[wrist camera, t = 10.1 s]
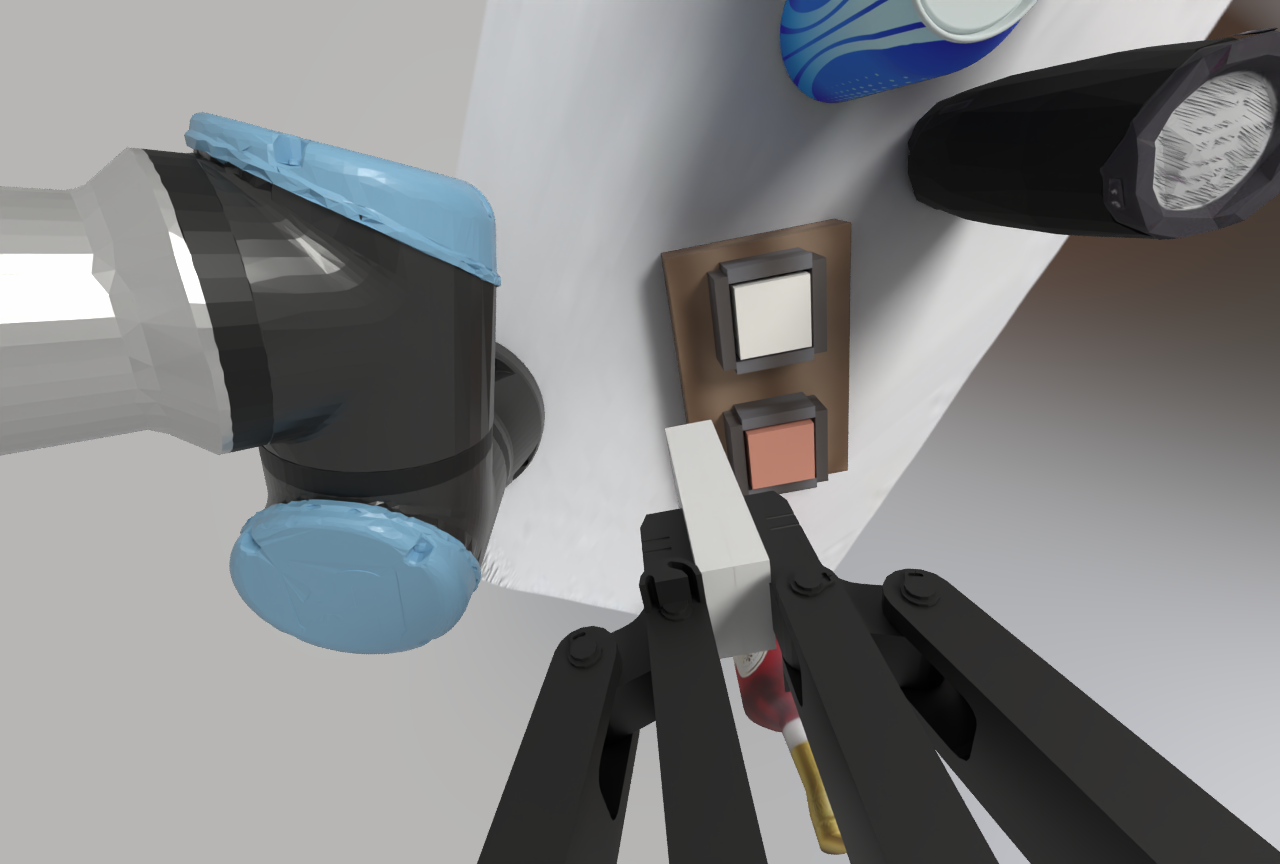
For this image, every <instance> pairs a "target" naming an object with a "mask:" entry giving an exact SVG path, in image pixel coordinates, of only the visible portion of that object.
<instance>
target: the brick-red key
mask: <svg viewBox="0 0 1280 864" xmlns="http://www.w3.org/2000/svg"><path fill="white" fill-rule="evenodd" d="M743 437H744V448H745V458H746V469H747V478H748V480H749V482H750V484H751V486H752V489H758V488H764V487H769V486H775V485H780V484H786V483H791V482H797V481H802V480H807V479H813V478H815V460H814V423H813V422H812V421H811V419H810V418H808V419H803V420H797V421H792V422H787V423H781V424H776V425H770V426H765V427H760V428H754V429H749V430H744V431H743Z"/></svg>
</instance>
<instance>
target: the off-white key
mask: <svg viewBox="0 0 1280 864" xmlns="http://www.w3.org/2000/svg"><path fill="white" fill-rule="evenodd" d="M729 292H730V303H731V313H732V323H733V334H734V344H735V352H736V353H737V355H738V356H739V358H740V359H741V360H743V359H748V358H753V357H758V356H764V355H769V354H774V353H779V352H784V351H790V350H795V349H800V348H805V347H811V346H812V334H811V290H810V273H808V272H806V271H804V270H798V271H793V272H788V273H783V274H778V275H773V276H768V277H763V278H757V279H752V280H747V281H742V282H737V283H732V284H729Z"/></svg>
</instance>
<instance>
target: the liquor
mask: <svg viewBox="0 0 1280 864" xmlns="http://www.w3.org/2000/svg"><path fill="white" fill-rule="evenodd" d="M733 660H734V665H735V669H736V674H737V678H738V683H739V688H740V693H741V697H742V703H743V708H744V710H745V713H746V715H747V716H748V718H749V719H750V720H752V721H753V722H754V723H756V724H758V725H760V726H762V727H765V728H768V729H771V730H774V731H777V732H782V733H783V736H784V738H785V741H786V743H787V746H788V748H789V751H790V753H791V756H792V758H793V760H794V763H795V765H796V768H797V770H798V773H799V775H800V778H801V780H802V783H803V785H804V787H805V790H806V795H807V801H808V806H809V812H810V817H811V820H812V823H813V826H814V829H815V833H816V836H817V839H818V842H819V845H820V848H821V850H822V851H823V852H825V853H827V854H834V855H835V854H836V855H837V854H845V853H847V852H846V849H845V846H844V843H843V840H842V837H841V834H840V831H839V829H838V826H837V823H836V820H835V817H834V814H833V811H832V809H831V806H830V803H829V800H828V797H827V794H826V791H825V788H824V786H823V783H822V780H821V777H820V774H819V771H818V768H817V765H816V763H815V760H814V757H813V754H812V751H811V748H810V745H809V743H808V740H807V737H806V734H805V731H804V728H803V725H802V722H801V720H800V717H799V714H798V711H797V708H796V705H795V702H794V700H793V697H792V694H791V691H790V692H785V688H784V678H783V664H782V653H781V650H780V647H779V644H778V641H777V639H776V649H773V650H767V651H761V652H756V653H750V654H744V655H738V656H733Z"/></svg>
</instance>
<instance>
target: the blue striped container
mask: <svg viewBox="0 0 1280 864" xmlns="http://www.w3.org/2000/svg"><path fill="white" fill-rule="evenodd" d="M1037 1H1038V0H786V3H785V6H784V10H783V13H782V18H781V25H780V49H781V55H782V59H783V63H784V66H785V68H786V71H787V73H788V75H789V77H790V78H791V80H792V81H793V83H794V84H795V85H796V86H797V88H798V89H799V90H800V91H802V92H803V93H804V94H805V95H807V96H809V97H810V98H812V99H815V100H817V101H821V102H826V103H839V102H844V101H848V100H852V99H856V98H860V97H863V96H867V95H871V94H875V93H879V92H882V91H886V90H890V89H894V88H898V87H901V86H905V85H909V84H913V83H916V82H920V81H924V80H928V79H932V78H935V77H939V76H943V75H947V74H950V73H953V72H956V71H959V70H961V69H963V68H966V67H968V66H970V65H972V64H973V63H975V62H977V61H978V60H980V59H981V58H983V57H984V56H986V55H987V54H988V53H990V52H991V51H992V50H993V49H994V48H995V47H997V46H998V45H999V44H1000V43H1001V42H1002V41H1003V40H1004V39H1005V38H1006V37H1007V36H1008V34H1009V33H1010V32H1011V31H1012V30H1013V29H1014V27H1015V26H1016V25H1017V24H1018V22H1019V21H1020V19H1021V18H1022V17H1023V16H1024V15H1025V14H1026V13H1027V12H1028V11H1029V10H1030V9H1031V8H1032V7H1033V6H1034V4H1035V3H1036V2H1037Z"/></svg>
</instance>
